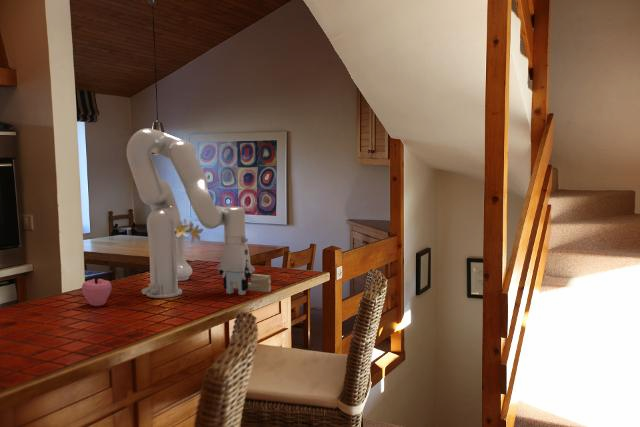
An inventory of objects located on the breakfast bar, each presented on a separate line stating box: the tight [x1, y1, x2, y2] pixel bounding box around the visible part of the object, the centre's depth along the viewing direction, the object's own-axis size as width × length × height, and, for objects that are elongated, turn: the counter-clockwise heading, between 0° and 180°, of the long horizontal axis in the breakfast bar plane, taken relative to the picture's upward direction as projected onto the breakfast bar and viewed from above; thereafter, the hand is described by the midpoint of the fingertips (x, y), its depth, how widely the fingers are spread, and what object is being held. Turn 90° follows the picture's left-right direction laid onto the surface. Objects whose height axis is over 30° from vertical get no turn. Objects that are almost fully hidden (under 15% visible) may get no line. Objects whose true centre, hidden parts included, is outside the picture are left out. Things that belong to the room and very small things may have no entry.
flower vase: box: [175, 218, 204, 282], centre depth 239 cm, size 13×18×25 cm
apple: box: [81, 277, 113, 307], centre depth 198 cm, size 10×9×10 cm
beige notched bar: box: [233, 273, 272, 294], centre depth 220 cm, size 2×18×6 cm, turn 64°
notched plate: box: [225, 272, 247, 296], centre depth 214 cm, size 2×7×8 cm, turn 64°
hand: (235, 288), depth 214 cm, fingers closed on notched plate, 7 cm apart
